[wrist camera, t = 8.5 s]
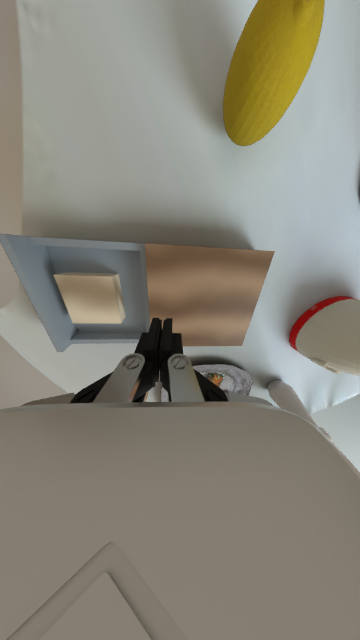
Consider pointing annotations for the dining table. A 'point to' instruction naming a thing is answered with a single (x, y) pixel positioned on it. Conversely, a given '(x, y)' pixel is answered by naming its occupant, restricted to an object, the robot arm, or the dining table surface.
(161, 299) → the wooden square board
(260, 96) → the lemon
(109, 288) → the tile
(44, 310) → the box
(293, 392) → the salt shaker
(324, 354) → the kitchen timer
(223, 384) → the food plate
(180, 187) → the dining table surface
